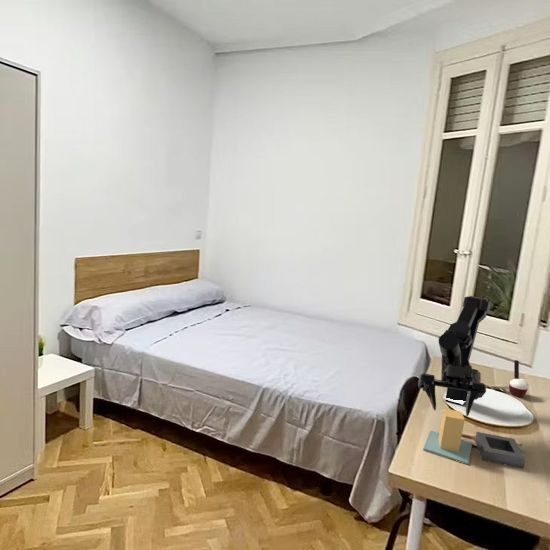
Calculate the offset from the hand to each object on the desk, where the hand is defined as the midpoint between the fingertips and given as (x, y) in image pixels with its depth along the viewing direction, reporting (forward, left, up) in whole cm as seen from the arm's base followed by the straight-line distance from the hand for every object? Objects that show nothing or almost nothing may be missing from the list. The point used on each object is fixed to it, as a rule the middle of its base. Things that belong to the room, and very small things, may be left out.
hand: (451, 412), depth 133 cm
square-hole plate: (+14, +1, -9) cm, 17 cm away
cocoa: (+19, +53, -9) cm, 57 cm away
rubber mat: (+1, -4, -9) cm, 10 cm away
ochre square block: (+1, -4, -8) cm, 9 cm away
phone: (+1, +61, -9) cm, 62 cm away
